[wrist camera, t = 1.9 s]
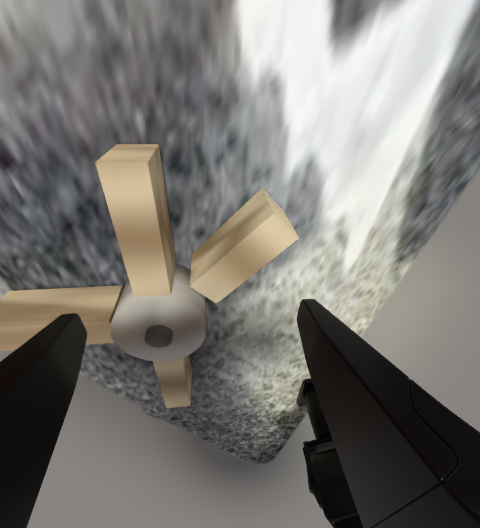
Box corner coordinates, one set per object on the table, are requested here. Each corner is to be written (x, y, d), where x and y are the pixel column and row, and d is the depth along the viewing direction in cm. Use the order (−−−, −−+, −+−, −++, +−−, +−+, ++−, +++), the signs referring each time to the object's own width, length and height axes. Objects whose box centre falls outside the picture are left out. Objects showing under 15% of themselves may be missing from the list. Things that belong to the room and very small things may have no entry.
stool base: (210, 369, 31) (211, 413, 27) (68, 381, 30) (47, 430, 26) (195, 144, 17) (192, 167, 13) (-89, 143, 15) (-197, 169, 11)
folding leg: (214, 270, 22) (216, 303, 19) (191, 253, 21) (189, 286, 18) (283, 211, 20) (298, 238, 16) (262, 188, 18) (274, 212, 15)
